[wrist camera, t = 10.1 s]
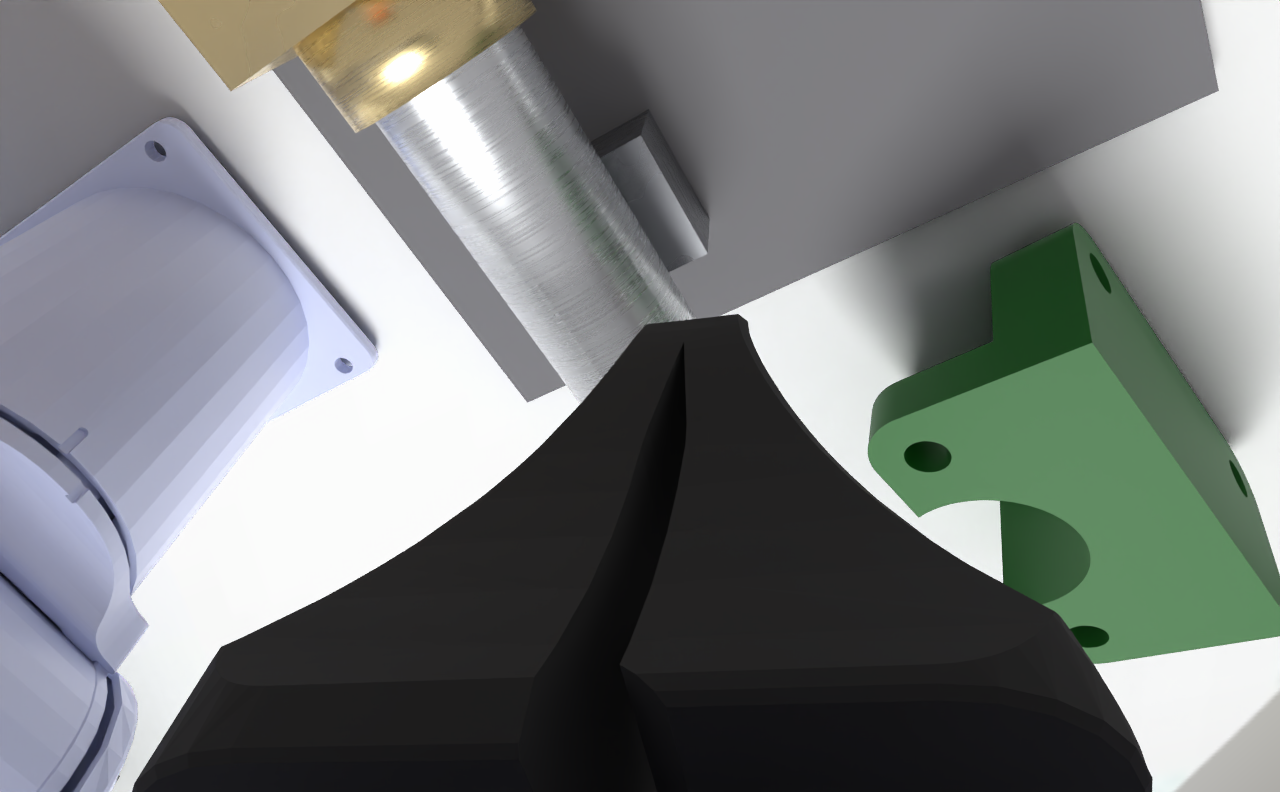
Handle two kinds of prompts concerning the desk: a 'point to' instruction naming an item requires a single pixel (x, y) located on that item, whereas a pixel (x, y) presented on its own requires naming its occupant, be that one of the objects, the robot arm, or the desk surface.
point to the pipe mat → (809, 123)
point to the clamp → (1087, 463)
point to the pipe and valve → (492, 156)
